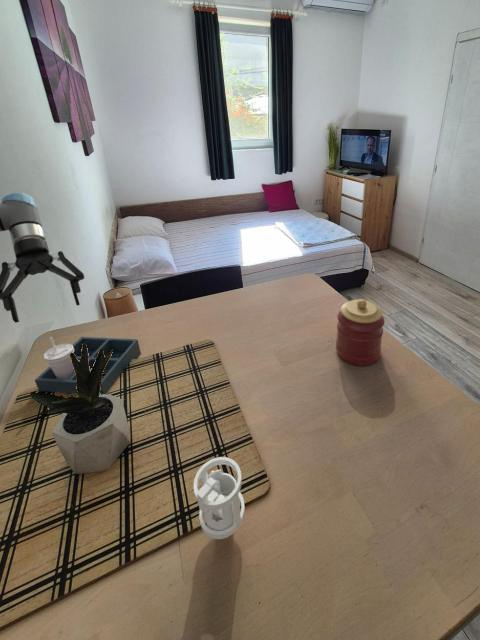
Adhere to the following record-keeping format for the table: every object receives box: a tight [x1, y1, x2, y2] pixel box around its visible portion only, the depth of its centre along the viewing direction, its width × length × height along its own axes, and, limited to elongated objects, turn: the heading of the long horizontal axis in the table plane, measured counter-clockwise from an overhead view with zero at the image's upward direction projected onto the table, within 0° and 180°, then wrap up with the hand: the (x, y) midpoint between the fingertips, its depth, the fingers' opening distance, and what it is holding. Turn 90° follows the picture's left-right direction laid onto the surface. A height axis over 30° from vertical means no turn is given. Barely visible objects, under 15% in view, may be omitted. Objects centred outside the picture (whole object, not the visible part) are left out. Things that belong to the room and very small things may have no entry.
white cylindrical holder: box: [193, 456, 246, 540], centre depth 51 cm, size 7×7×15 cm
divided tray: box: [34, 336, 142, 395], centre depth 88 cm, size 17×17×5 cm
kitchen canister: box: [335, 298, 385, 367], centre depth 93 cm, size 13×13×18 cm
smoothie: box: [43, 336, 75, 380], centre depth 83 cm, size 6×6×14 cm
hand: (48, 312), depth 86 cm, fingers open, 13 cm apart
